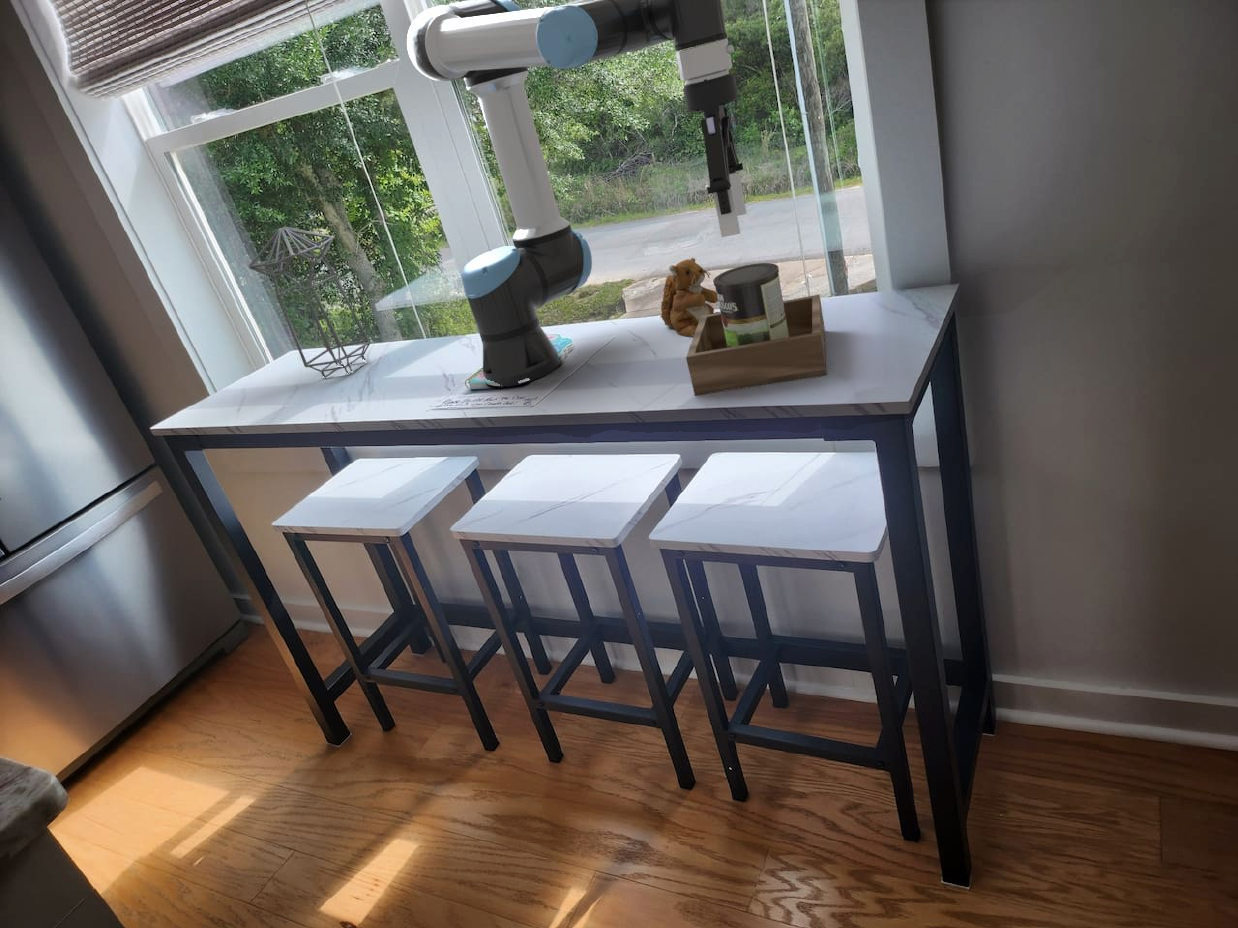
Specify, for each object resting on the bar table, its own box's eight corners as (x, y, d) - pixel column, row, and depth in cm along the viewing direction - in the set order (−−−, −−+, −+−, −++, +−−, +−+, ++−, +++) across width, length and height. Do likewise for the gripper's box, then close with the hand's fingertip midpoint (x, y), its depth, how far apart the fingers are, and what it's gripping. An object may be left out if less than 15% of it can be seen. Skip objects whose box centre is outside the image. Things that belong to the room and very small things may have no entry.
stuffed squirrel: (694, 338, 161) (679, 270, 155) (649, 331, 172) (633, 268, 166) (732, 319, 165) (719, 253, 160) (686, 314, 176) (672, 251, 171)
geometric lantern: (352, 380, 195) (286, 230, 181) (300, 389, 202) (232, 244, 187) (389, 354, 208) (330, 211, 193) (338, 363, 214) (278, 225, 200)
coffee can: (746, 374, 135) (728, 288, 129) (720, 359, 144) (703, 278, 138) (804, 353, 136) (789, 267, 131) (775, 340, 146) (760, 259, 140)
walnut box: (708, 350, 152) (701, 316, 150) (825, 330, 147) (819, 294, 144) (694, 395, 135) (686, 357, 132) (826, 375, 129) (820, 334, 126)
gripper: (725, 77, 111) (754, 239, 120) (739, 65, 132) (763, 203, 141) (669, 92, 113) (701, 249, 122) (692, 77, 134) (718, 212, 143)
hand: (734, 225), depth 132 cm, fingers open, 13 cm apart
